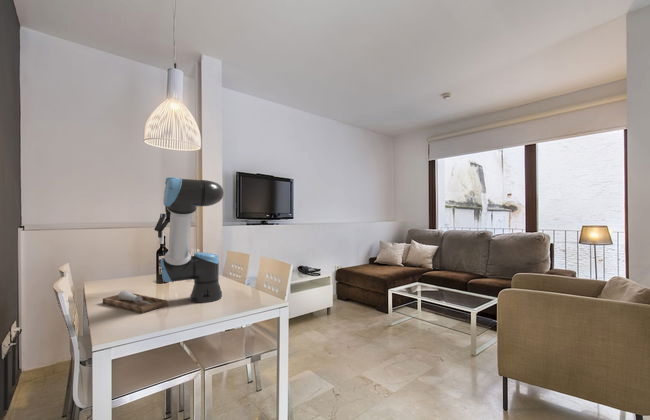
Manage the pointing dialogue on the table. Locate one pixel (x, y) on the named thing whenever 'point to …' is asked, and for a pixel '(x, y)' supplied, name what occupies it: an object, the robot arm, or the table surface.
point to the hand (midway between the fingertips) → (172, 242)
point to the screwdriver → (130, 297)
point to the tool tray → (136, 307)
